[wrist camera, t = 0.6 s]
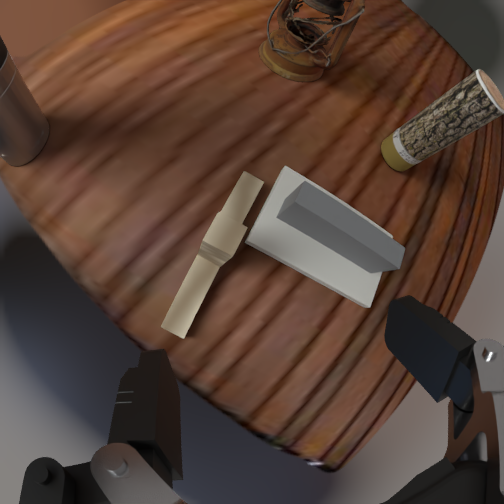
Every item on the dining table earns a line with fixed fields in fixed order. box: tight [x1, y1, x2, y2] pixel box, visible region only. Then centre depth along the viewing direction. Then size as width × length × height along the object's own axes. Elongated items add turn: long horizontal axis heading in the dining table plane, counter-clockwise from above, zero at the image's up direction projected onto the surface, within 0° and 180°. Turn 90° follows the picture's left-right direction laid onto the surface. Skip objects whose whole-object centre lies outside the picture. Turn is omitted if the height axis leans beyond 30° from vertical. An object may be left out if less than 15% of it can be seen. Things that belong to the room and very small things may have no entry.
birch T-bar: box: [161, 171, 264, 339], centre depth 31 cm, size 3×22×11 cm, turn 153°
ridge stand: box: [245, 166, 405, 308], centre depth 36 cm, size 20×12×8 cm, turn 63°
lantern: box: [259, 0, 365, 82], centre depth 30 cm, size 17×13×30 cm
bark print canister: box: [381, 69, 504, 171], centre depth 34 cm, size 7×7×25 cm
